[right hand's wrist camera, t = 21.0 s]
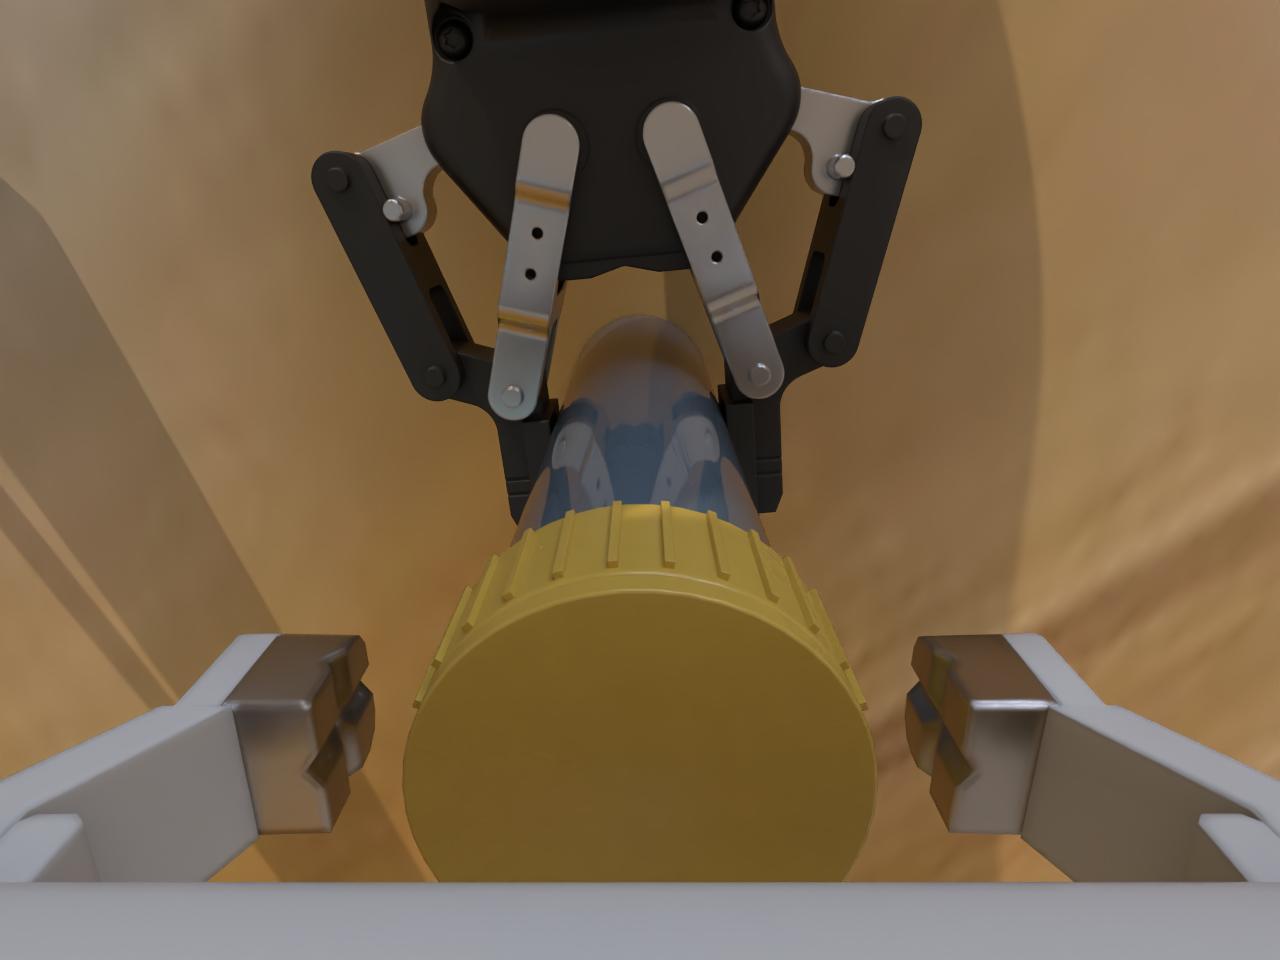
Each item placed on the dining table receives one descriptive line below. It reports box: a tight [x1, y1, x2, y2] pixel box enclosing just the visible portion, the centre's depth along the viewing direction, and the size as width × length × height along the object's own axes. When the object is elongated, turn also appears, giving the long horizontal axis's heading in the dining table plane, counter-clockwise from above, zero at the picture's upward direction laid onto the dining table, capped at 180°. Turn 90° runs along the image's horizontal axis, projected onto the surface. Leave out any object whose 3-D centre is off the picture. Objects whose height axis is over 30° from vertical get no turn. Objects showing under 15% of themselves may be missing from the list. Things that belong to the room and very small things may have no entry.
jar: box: [510, 316, 771, 548], centre depth 18 cm, size 4×4×19 cm
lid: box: [402, 500, 878, 882], centre depth 9 cm, size 5×5×2 cm
